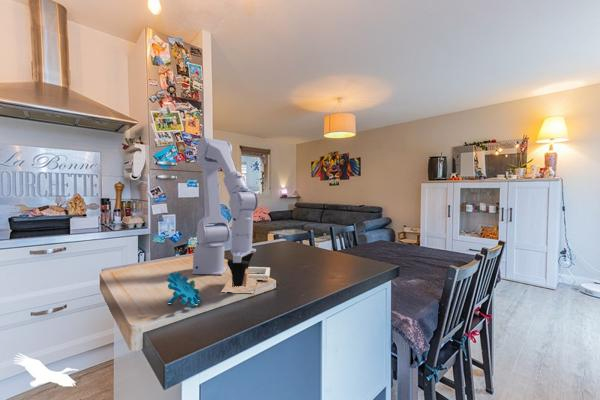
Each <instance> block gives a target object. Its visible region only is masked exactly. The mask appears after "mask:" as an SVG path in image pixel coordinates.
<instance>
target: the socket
mask: <svg viewBox="0 0 600 400" xmlns="http://www.w3.org/2000/svg"><path fill="white" fill-rule="evenodd" d="M248 269H249V272H255V273H249V274H248V278H254V279H255V278H262V279H264V278H265V279H268V278H269V279H270V273H271V267H268V266H267V267H266V266H262V267H261V266H260V267H259V266H249V267H248ZM257 273H259V274H257Z"/></svg>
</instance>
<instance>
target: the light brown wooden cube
mask: <svg viewBox="0 0 600 400" xmlns="http://www.w3.org/2000/svg"><path fill="white" fill-rule="evenodd" d="M248 274H250V273H249V269H246V270H245V274H244V280H243V284H242V286H244V287H246V286H247V283H248ZM231 280H232V287H235V286H234V283H233V278H232V277H231ZM236 287H237V286H236ZM238 287H239V286H238Z"/></svg>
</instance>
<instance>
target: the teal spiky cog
mask: <svg viewBox="0 0 600 400" xmlns="http://www.w3.org/2000/svg"><path fill="white" fill-rule="evenodd" d="M182 276H183V275H182V273H180V272H178V271H177V272H176V273H175V272H171V273H169V275H168V277H167V278H166V281H167V282H168V283H169V284H167V287H168V290H173V293H172V295H173V296H172V297H171V298H170V299H169V300H168V301H167V304H168V303H172V304H173V303H174V302H176V300H178V299H179V298H181V299H180V303H181V304H182V305H185V304H187V305H188V307H190V308H193V307H195V304H199V302H200V301H201V300H202V297H201V296H200V295H199V294H200V293H201V292H200V290H199V289H198V288H195V286H196V281H195V280H193V279H191V281H189V282H188V280H189V278H188V276H186V275H184V276H183V277H182ZM198 300H200V301H198ZM199 305H200V304H199Z"/></svg>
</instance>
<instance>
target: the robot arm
mask: <svg viewBox="0 0 600 400" xmlns="http://www.w3.org/2000/svg"><path fill="white" fill-rule="evenodd" d="M232 154H233V147H232V144H231V142H230V141H229V140H221V139H216V138H215V139H214V138H209V137H206V136H201V137H200V138H199V140H198V142H197V146H196V155H197V156H196V159H197V164H198V165H199V166H201V168H202V169H201V170H202V183H203V200H204V201H203V202H204V216H203V217H202V218H201V219H200V220H199V221H198V222H197V225H196V232H195V235H196V241H197V244H196V245H195V246H194V249H193V254H192V256H193V257H192V272H191V274H193V275H214V276H215V275H218V276H219V275H220V276H221V274H222V273H223V274H224V272H225V271H227V268H229V269H230V273H231V279H232V278H233V283H234V286H242V284H243V280H244V274H245V270H246V269H248V267H250V263H251V259H252V257H253V256H254V254H255V253H256V251H257V249H256V248H253V231H254V212H255V211H256V210H257V209H258V205H259V198H258V195H257V192H255V191H252V189H249V187H248V185H247V182H246V180H245V179H244V175H242V173H241V172H240V171H238V170H237V169H236V167H235V163H234V161H233V157H232ZM219 169H221V171H222V172H223V174H224V177H223V183H224V186H225V188H226V190H227V193H228V195H229V200H228V206H229V210H230V217H231V218H232V220H231V221H232V223H231V224H232V225H231V227H232V229H231V228H230V226H229V220H228V219H227V218H225V216H223V215H222V211H221V199H220V198H221V197H220V195H221V194H220V186H219V185H220V184H219V173H218V172H219ZM230 239H231V247H230V253H231V255H232V259H230V258H229V259H228V260H227V262H226V263H227V266H226V265H225V249H226V248H225V246H226V245H228V244H227V243H228V242H229V241H230ZM223 274H222V275H223Z"/></svg>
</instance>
